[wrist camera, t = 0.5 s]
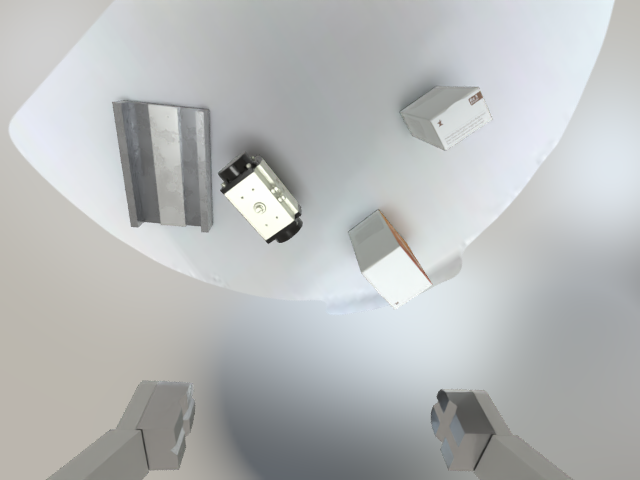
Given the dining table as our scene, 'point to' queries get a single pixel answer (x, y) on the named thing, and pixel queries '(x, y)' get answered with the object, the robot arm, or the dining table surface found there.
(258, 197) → the pneumatic valve
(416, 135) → the skincare box
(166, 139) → the rail plate
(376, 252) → the small box
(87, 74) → the dining table surface
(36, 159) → the dining table surface
